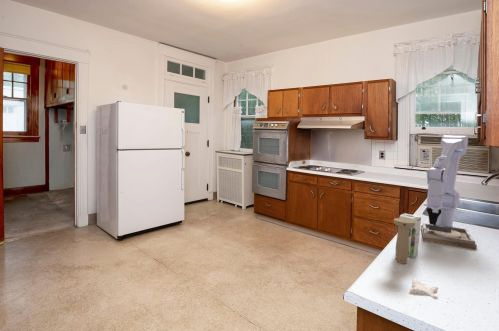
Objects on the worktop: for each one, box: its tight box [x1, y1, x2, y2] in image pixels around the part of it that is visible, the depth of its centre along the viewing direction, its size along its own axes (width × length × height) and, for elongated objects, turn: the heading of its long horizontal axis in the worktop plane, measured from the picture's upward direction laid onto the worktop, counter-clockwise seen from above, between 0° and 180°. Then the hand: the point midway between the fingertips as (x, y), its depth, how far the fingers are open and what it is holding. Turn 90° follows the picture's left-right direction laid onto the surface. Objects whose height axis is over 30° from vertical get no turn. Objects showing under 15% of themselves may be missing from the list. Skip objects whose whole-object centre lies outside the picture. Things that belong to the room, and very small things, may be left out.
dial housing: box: [420, 222, 478, 250], centre depth 125 cm, size 18×18×3 cm
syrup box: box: [398, 213, 422, 258], centre depth 108 cm, size 6×6×14 cm
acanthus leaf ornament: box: [409, 278, 439, 300], centre depth 83 cm, size 8×7×2 cm
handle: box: [393, 217, 415, 265], centre depth 100 cm, size 5×6×15 cm
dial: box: [428, 223, 461, 238], centre depth 125 cm, size 12×10×3 cm
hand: (432, 224), depth 130 cm, fingers closed
